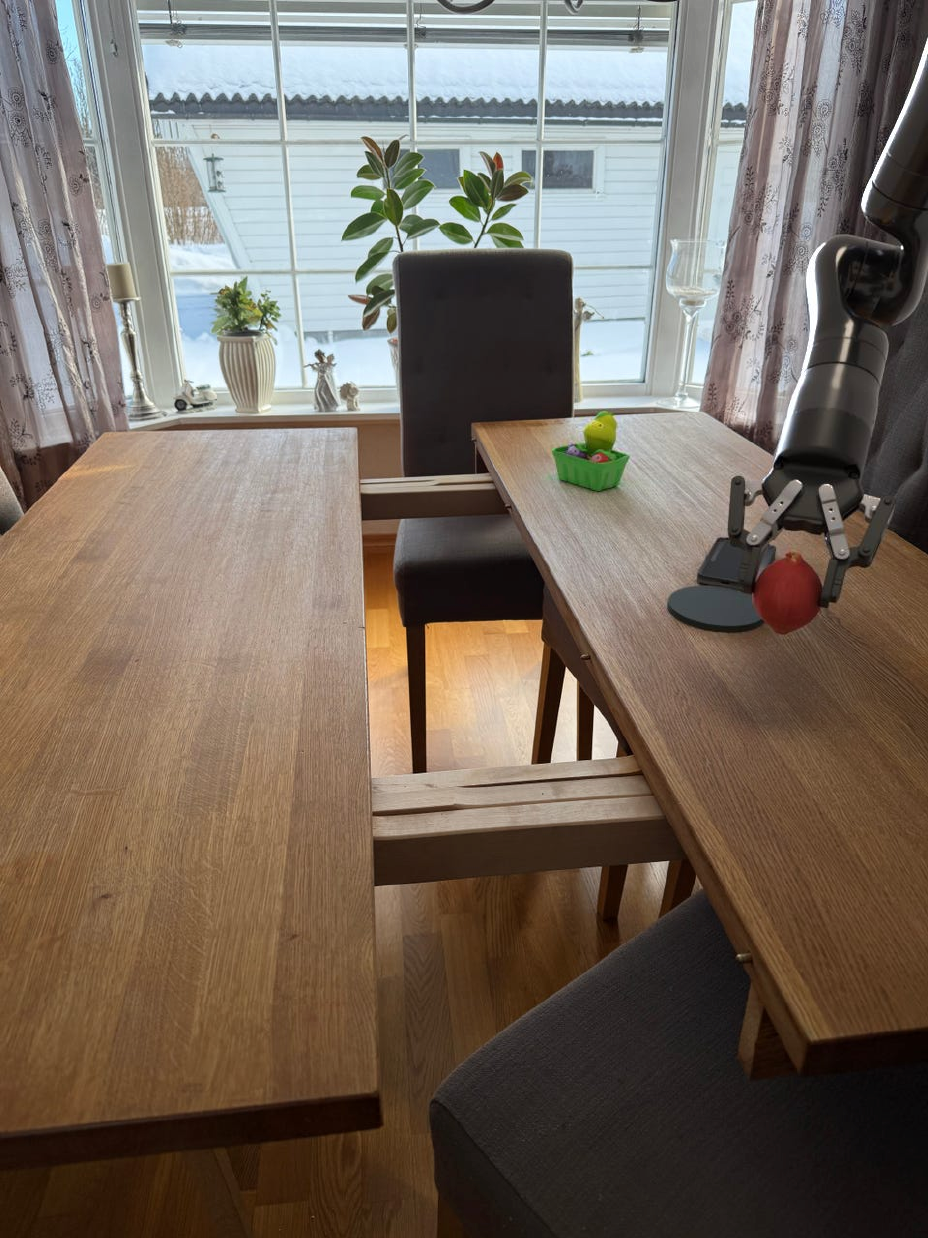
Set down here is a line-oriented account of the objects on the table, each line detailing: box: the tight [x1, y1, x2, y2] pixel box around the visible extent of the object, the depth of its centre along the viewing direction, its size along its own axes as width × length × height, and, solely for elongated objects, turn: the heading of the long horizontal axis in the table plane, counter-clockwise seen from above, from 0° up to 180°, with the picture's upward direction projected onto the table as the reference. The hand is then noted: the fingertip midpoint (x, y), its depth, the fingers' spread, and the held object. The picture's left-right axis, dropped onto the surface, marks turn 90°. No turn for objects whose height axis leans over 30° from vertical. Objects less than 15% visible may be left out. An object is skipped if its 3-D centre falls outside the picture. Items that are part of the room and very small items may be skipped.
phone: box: [695, 536, 777, 592], centre depth 114 cm, size 8×1×15 cm
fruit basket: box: [551, 410, 631, 492], centre depth 145 cm, size 11×9×11 cm
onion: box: [751, 549, 823, 636], centre depth 77 cm, size 6×6×8 cm
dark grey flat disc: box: [666, 585, 765, 633], centre depth 102 cm, size 11×11×1 cm
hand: (785, 596), depth 75 cm, fingers closed on onion, 5 cm apart
